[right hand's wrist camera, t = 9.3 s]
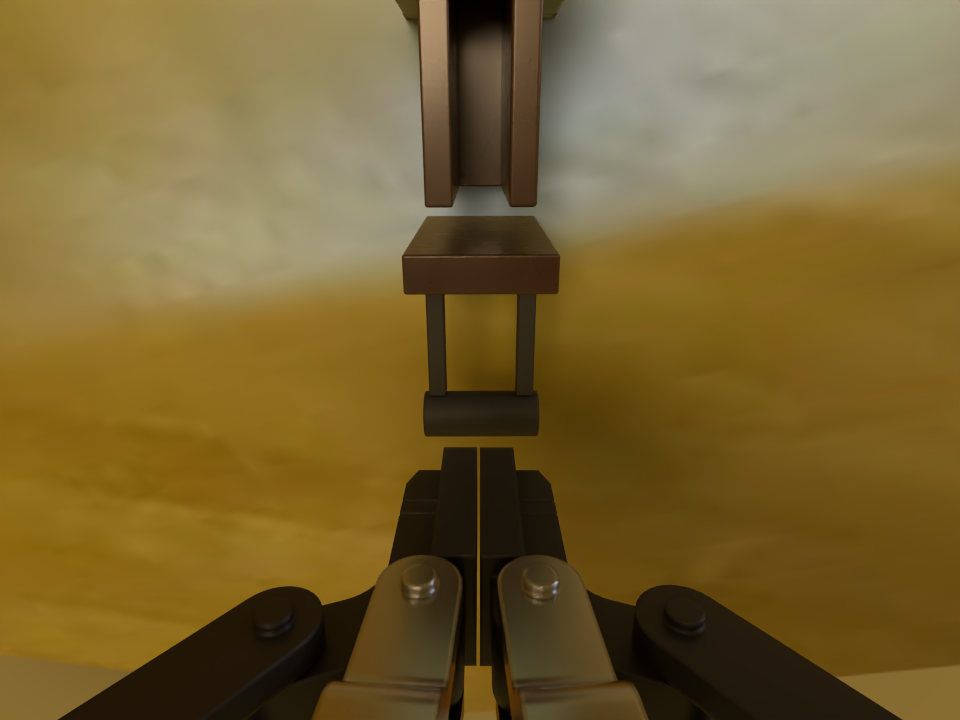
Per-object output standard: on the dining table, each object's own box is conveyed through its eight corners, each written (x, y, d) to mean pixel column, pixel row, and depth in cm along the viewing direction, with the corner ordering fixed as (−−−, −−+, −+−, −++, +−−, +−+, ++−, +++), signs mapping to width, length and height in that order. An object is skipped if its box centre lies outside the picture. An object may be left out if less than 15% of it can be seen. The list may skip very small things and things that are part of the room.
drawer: (529, 369, 27) (550, 465, 19) (431, 370, 27) (412, 466, 19) (553, -405, 18) (614, -839, 10) (403, -404, 18) (342, -838, 10)
